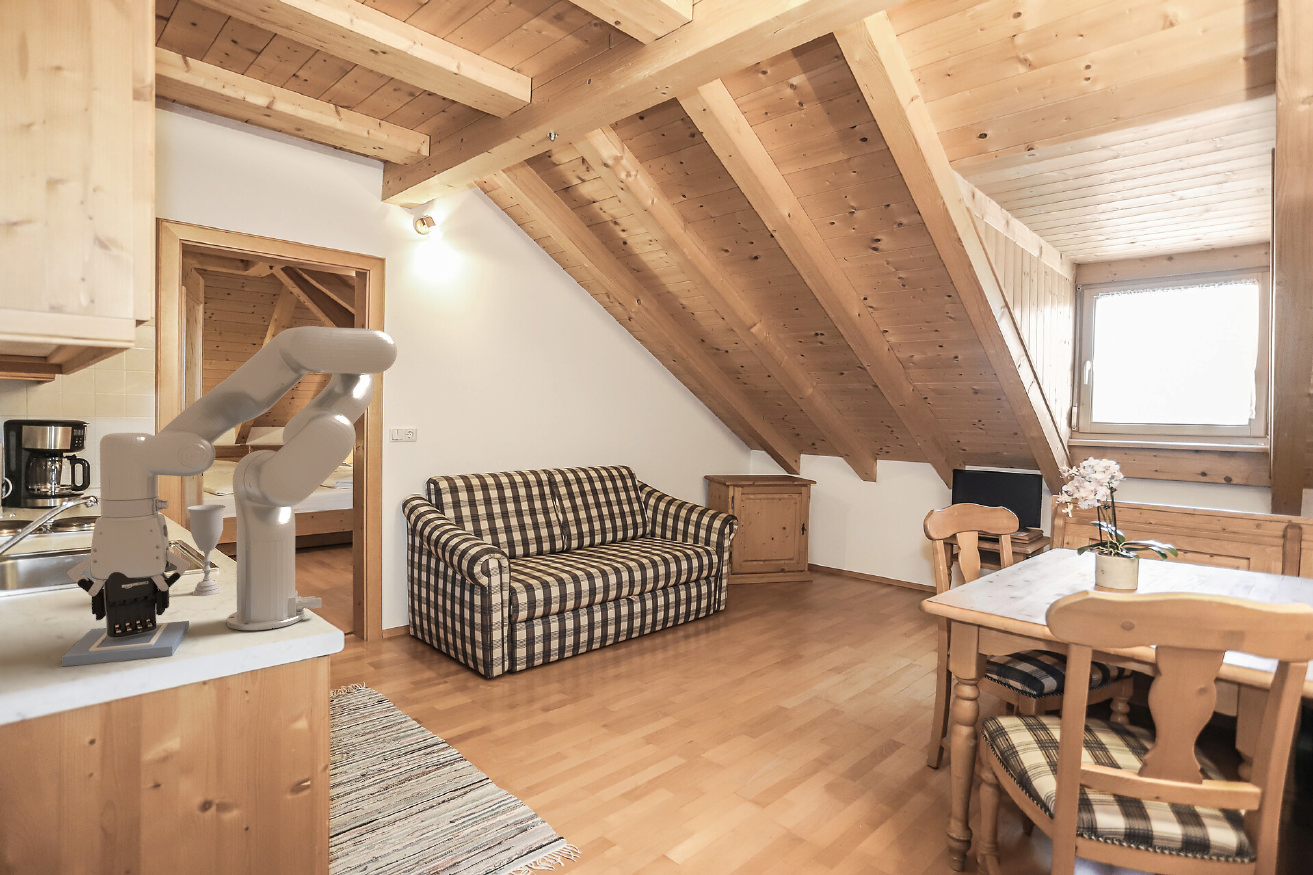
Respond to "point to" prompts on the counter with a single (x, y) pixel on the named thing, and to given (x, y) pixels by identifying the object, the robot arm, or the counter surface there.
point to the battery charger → (129, 605)
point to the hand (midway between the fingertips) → (131, 614)
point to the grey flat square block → (126, 645)
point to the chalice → (206, 540)
